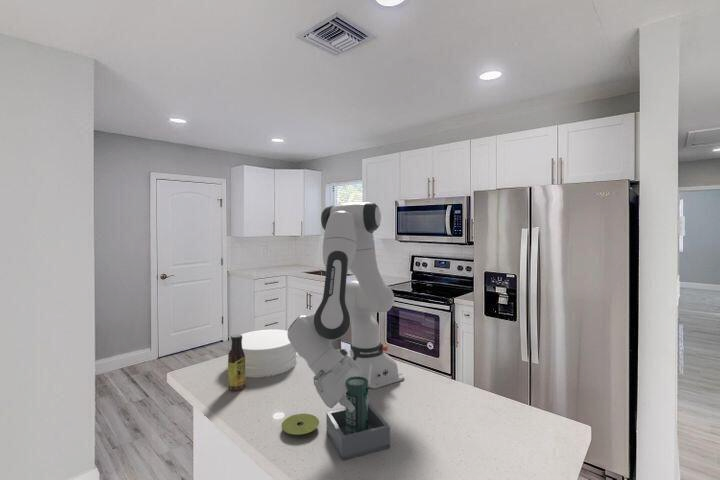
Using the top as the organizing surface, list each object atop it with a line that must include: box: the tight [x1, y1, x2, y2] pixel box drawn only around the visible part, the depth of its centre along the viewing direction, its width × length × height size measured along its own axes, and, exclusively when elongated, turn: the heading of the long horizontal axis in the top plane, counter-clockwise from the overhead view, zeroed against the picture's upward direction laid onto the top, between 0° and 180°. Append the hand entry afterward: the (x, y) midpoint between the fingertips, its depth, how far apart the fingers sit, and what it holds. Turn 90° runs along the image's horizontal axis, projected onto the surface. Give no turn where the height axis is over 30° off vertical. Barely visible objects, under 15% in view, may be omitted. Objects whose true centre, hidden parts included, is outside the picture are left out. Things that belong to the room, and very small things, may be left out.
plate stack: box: [230, 328, 298, 378], centre depth 158 cm, size 28×28×12 cm
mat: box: [281, 413, 320, 436], centre depth 108 cm, size 11×11×2 cm
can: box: [345, 376, 369, 435], centre depth 102 cm, size 6×6×15 cm
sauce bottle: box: [227, 334, 246, 391], centre depth 135 cm, size 7×6×20 cm
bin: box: [325, 402, 391, 462], centre depth 102 cm, size 14×14×6 cm
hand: (358, 403), depth 102 cm, fingers closed on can, 6 cm apart
